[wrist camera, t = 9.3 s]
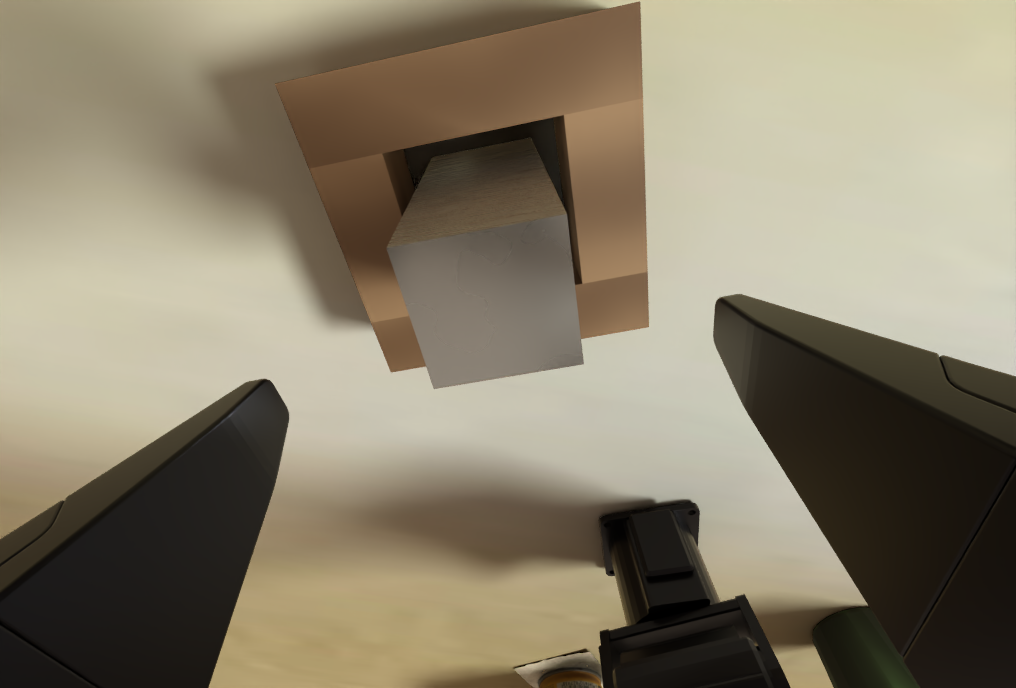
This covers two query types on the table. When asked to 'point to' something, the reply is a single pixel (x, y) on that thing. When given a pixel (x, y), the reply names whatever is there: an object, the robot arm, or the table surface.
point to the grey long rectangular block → (488, 267)
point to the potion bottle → (860, 652)
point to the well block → (479, 108)
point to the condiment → (564, 672)
